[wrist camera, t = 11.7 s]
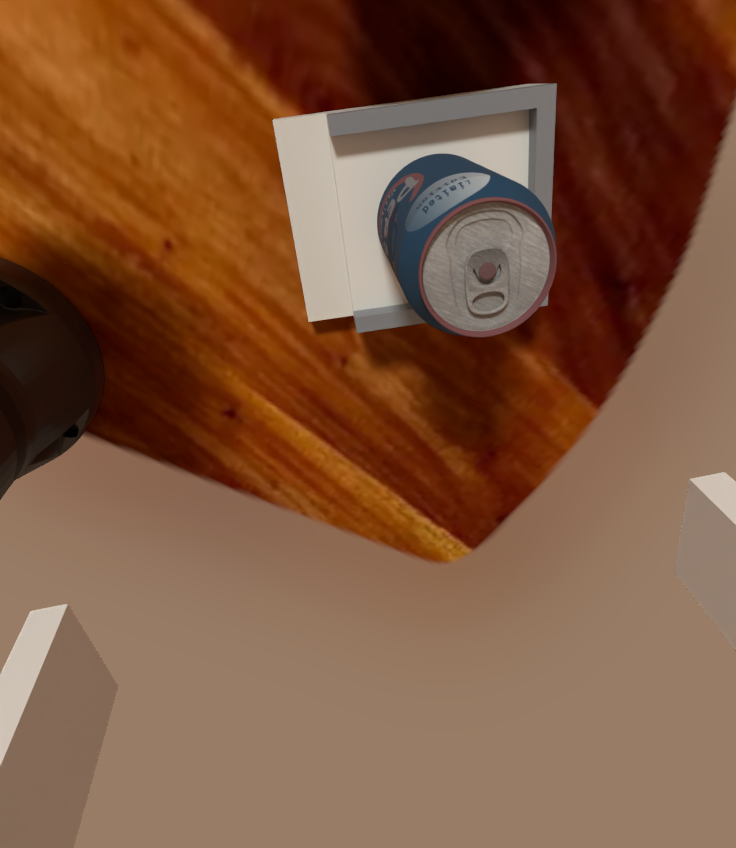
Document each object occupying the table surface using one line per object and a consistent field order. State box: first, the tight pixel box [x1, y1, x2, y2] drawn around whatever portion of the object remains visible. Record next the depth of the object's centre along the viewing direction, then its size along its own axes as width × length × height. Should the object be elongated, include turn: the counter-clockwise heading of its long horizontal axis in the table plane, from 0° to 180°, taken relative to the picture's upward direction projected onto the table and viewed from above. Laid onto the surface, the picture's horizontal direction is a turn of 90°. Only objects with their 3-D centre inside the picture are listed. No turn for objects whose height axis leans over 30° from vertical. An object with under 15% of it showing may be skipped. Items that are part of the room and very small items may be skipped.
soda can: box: [377, 153, 557, 337], centre depth 29 cm, size 7×7×12 cm
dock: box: [273, 84, 557, 333], centre depth 35 cm, size 15×12×5 cm
